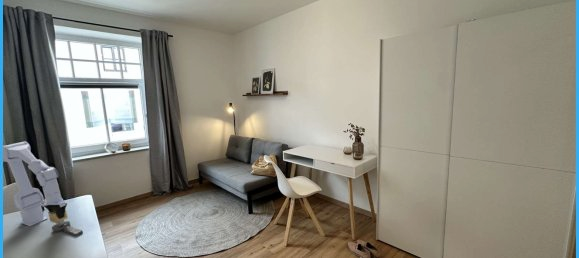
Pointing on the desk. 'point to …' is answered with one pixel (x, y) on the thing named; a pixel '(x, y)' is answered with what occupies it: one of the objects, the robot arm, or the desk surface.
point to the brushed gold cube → (54, 216)
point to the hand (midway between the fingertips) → (58, 216)
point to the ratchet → (66, 228)
